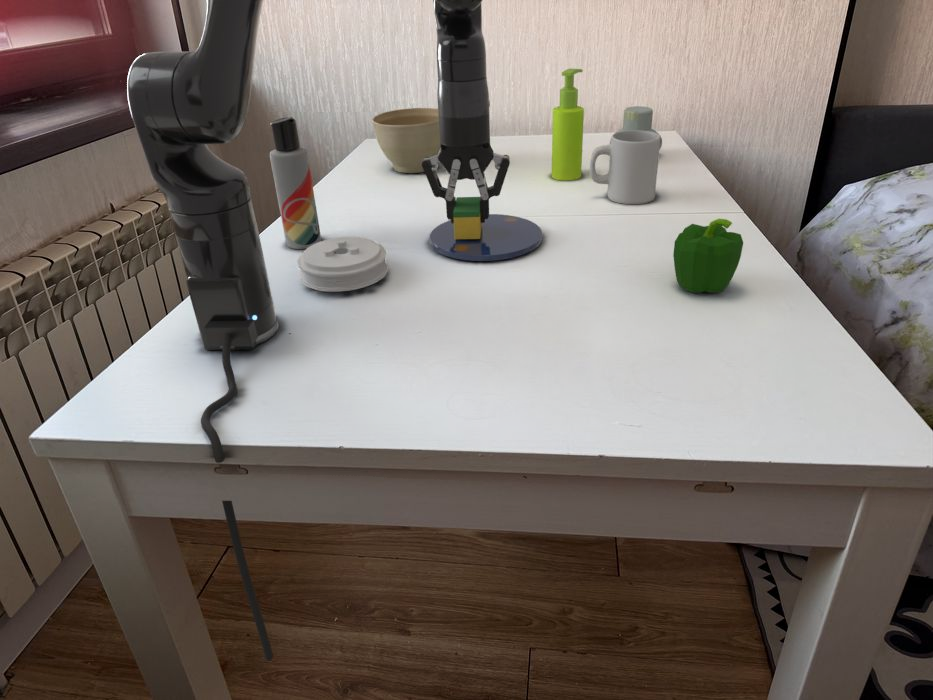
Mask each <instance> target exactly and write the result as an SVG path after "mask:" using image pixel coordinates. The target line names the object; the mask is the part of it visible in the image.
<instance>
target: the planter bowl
mask: <svg viewBox="0 0 933 700" xmlns="http://www.w3.org/2000/svg"><path fill="white" fill-rule="evenodd" d="M371 121H372V125H373V128H374V134H375V137H376V141H377V144H378V146H379V147H380V150H381V151H382V153H383V155H384V156H385V157H386V159H387V160H388V161H389V162H390V163H392V167H393V170H394V171H396V172H398V173H401V174H402V173H403V174H416V173H417V174H419V173H425V172H424V170H423V167H422V162H423V159H424V158H425V157H433V156H435V155H438V152H439V150H440V132H439V116H438V107H409V108H408V107H407V108H399V109H393V110H388V111H384V112H380V113H378V114H377V115H374V116H373V117H372V118H371Z"/></svg>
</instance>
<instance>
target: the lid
mask: <svg viewBox="0 0 933 700" xmlns="http://www.w3.org/2000/svg"><path fill="white" fill-rule="evenodd" d="M386 258H387V250H386V248H385V246H383V245H382V244H380V243H378V242H376V241H375V240H373V239H371V238H368V237H367V238H366V237H360V236H341V237H334V238H333V237H332V238H328V239H325V240H321V241H320V242H318V243H316V244H313V245H312V246H310V247H308V248H305V249H304V251H303V252H301V254H300V255H299V256H298V258H297V266H298V268H299V269H300V271H301V272H300V275H299V276H300V277H299V278H300V281H301V283H302V285H304V286H306V288H307V287H308V288H310V289H311V290H315V291H320V292H332V293H333V292H337V293H339V292H347V291H354V290H359V289H362V288H367V287H369V286H371V285H374V284H376V283H377V282H379V281H381V280H382V279H383V278H384V277H385V276H386V275H387V274H388V271H389V267H388V264H387V262H386Z"/></svg>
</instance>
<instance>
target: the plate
mask: <svg viewBox="0 0 933 700" xmlns="http://www.w3.org/2000/svg"><path fill="white" fill-rule="evenodd" d="M542 241H543V231H542V229H541V227H540V226H539V225H538V224H537V223H535V222H533V221H532V220H529V219H526V218H524V217H519V216H515V215H510V214H509V215H508V214H499V213H498V214H497V213H489V217H488V219H485V223H482V228H481V237H480V239H455V234H454V223H451V220H447V221H445V222H442V223H440V224H438V225H437V226H435V227H434V228H433V229H432V230H431V232H430V234H429V243H430V246H431V248H432V249H433V250H434V251H436V252H437V253H439V254H440V255H443V256H446V257H448V258H452V259H456V260H460V261H461V260H463V261H471V262H472V261H473V262H492V261H502V260H508V259H512V258H517V257H519V256H522V255H523V256H524V255H526V254H529V253H530V252H532V251H534V250H535V249H536V248H538V247H539V245H541V243H542Z"/></svg>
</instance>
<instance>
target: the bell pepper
mask: <svg viewBox="0 0 933 700" xmlns="http://www.w3.org/2000/svg"><path fill="white" fill-rule="evenodd" d="M732 224H733V222H732V221H731V220H729V219H726V218H716V219H714V220H712V221H710V223H709V224H708V225H705V226H703V225H699V224H695V223H691V224H689V225H688V226H686V227H685V228H684V229H683V231H682V232H680V233H678V235H677V237H676V238H675V240H674V245H673V253H672V255H673V265H674V273H675V278H676V281H677V283H678V285H679V286H680V287H681V288H682V289H683V290H684V291H687V292H690V293H693V294H696V293H697V294H699V293H704V292H706V293H715V294H718V293H720V292H723V291H724V290H725V289H726V288H727V287H728V286H729V284H730V283H731V282H732V279H733V277H734V275H735V274H736V273H735V272H736V271H737V268H738V266H739V263H740V260H741V257H742V253H743V247H744V240H743V237H742V234H740V233H737V232H732V231H727V229H729V228H730V227H731V225H732Z"/></svg>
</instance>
